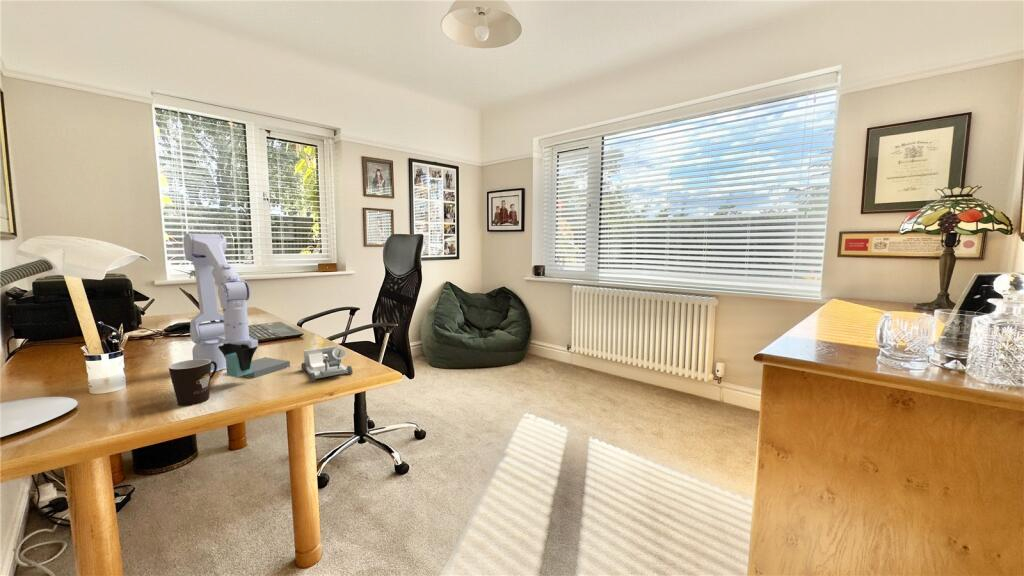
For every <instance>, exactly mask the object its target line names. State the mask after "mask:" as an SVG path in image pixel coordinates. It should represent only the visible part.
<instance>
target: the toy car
mask: <svg viewBox="0 0 1024 576" xmlns="http://www.w3.org/2000/svg"><path fill="white" fill-rule="evenodd" d="M345 357H347V350H346V349H345V348H344V347H338V345H332V346H326V347H320V348H313V349H304V350H303V359H304V361H303V362H301V367H300V368H301V371H302V370H303V371H302V372H304V371H305V372H307V373H308V374H309V377H310V381H311V382H312V383H315V382H316V379H321V378H328V377H332V376H337V375H344V374H348V373H349V374H352V375H353V373H354V372H353V368H352V365H348V366H347V367H346V366H345V365H344V364H343V363H342V359H344V358H345ZM349 374H348V375H349Z"/></svg>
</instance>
